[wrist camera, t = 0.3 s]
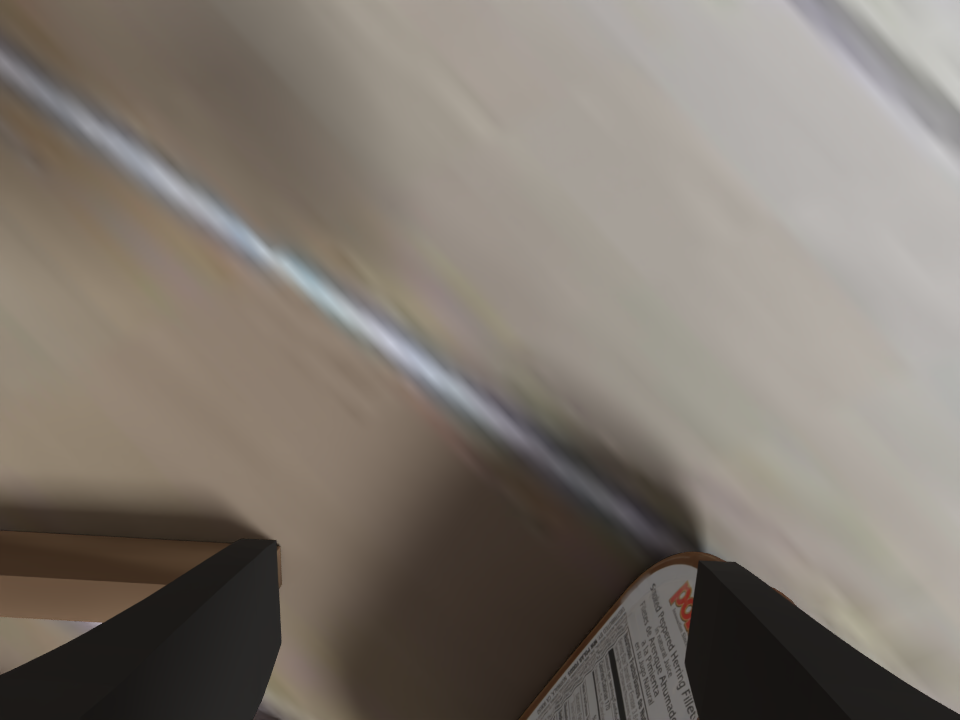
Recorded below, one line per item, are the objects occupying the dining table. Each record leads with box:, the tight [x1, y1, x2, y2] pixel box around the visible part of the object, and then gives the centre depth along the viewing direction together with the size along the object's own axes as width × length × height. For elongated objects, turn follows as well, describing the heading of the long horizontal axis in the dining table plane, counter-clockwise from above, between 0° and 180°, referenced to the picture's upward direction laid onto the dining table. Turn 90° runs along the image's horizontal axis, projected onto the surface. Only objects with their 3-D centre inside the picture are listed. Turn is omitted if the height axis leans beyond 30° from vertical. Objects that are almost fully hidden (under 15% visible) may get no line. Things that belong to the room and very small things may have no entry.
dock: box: [0, 531, 282, 623], centre depth 23 cm, size 9×14×2 cm, turn 87°
